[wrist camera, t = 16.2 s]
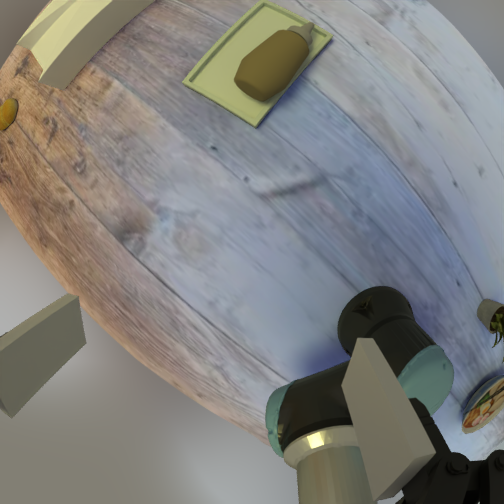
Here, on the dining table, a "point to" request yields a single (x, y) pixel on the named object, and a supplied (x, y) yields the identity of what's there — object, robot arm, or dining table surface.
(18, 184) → the dining table surface
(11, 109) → the bread roll
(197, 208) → the dining table surface
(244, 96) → the tray
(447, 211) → the dining table surface
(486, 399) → the ramen bowl
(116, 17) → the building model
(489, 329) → the house plant
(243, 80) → the squeeze bottle
